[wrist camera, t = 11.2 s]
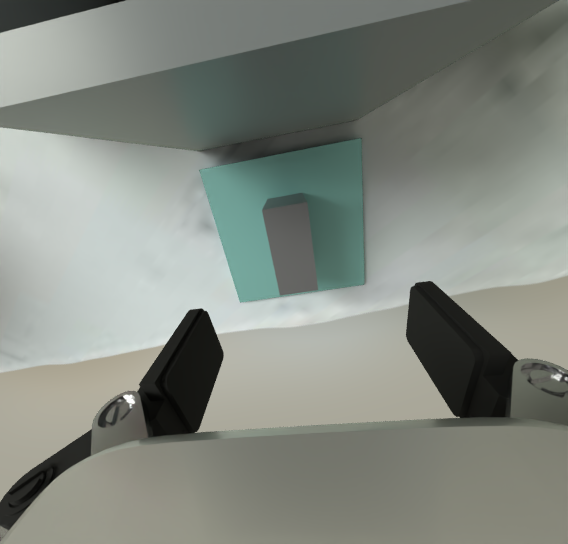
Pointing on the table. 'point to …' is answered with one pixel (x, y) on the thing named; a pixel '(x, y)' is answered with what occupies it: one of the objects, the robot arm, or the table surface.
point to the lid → (291, 220)
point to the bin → (226, 63)
